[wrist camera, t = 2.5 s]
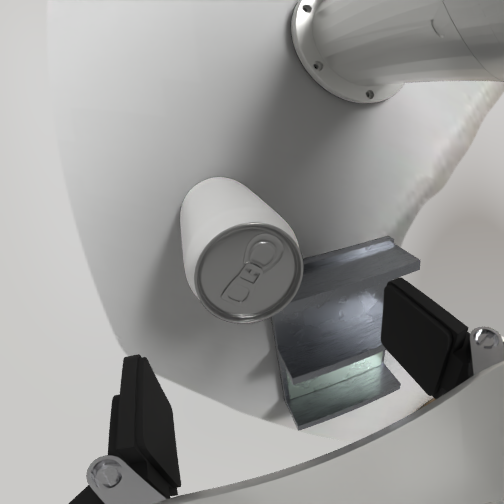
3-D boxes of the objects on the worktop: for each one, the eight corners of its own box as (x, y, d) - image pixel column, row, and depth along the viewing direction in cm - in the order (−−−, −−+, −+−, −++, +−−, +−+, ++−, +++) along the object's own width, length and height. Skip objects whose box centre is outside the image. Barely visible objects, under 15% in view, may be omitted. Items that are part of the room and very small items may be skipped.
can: (269, 199, 27) (334, 250, 16) (231, 261, 28) (267, 344, 18) (204, 161, 25) (229, 188, 14) (166, 229, 26) (163, 303, 15)
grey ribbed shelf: (263, 269, 30) (281, 299, 25) (388, 235, 32) (420, 255, 27) (284, 401, 38) (298, 432, 33) (378, 365, 40) (398, 391, 35)
